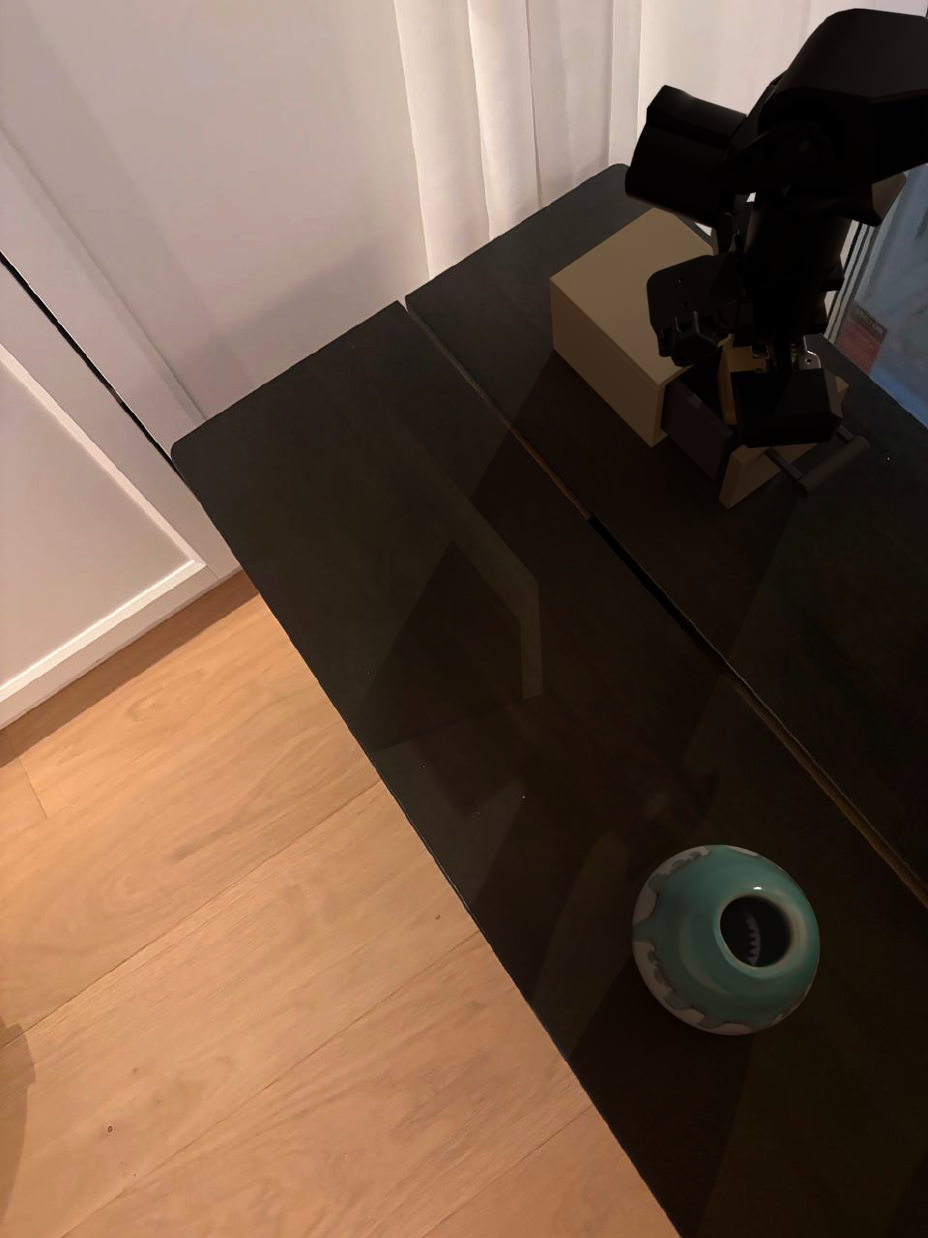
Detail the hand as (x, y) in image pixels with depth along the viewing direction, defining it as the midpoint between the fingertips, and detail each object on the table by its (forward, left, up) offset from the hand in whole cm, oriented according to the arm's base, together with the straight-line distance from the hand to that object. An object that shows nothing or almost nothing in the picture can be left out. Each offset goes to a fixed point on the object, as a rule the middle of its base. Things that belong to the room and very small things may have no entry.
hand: (752, 390), depth 70 cm
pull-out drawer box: (0, +1, -7) cm, 7 cm away
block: (0, 0, -1) cm, 1 cm away
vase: (+6, +39, -8) cm, 41 cm away
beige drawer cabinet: (+6, -9, -8) cm, 13 cm away
